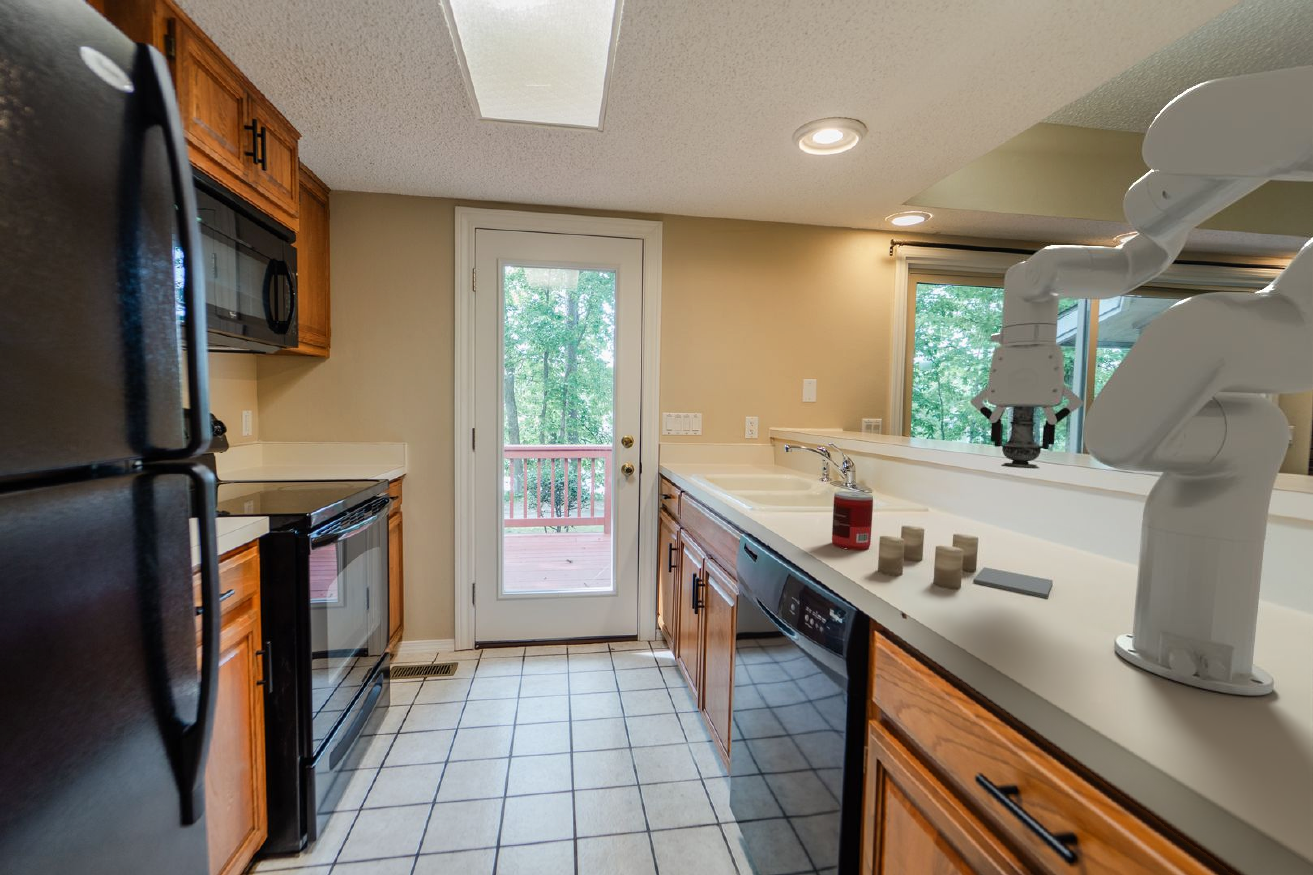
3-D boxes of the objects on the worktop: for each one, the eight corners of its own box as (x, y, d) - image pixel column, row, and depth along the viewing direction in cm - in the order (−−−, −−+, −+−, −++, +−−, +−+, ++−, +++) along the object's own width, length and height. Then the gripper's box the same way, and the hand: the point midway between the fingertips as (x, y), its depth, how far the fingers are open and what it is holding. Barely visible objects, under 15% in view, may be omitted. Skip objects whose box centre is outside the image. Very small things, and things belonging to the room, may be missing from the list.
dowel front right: (957, 590, 84) (960, 553, 83) (930, 584, 86) (932, 548, 86) (963, 584, 86) (965, 549, 86) (936, 579, 89) (939, 544, 89)
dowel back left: (919, 562, 99) (921, 531, 99) (897, 557, 102) (898, 527, 102) (924, 558, 102) (926, 528, 102) (903, 554, 105) (905, 524, 105)
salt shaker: (1050, 468, 86) (1054, 395, 85) (1026, 468, 83) (1031, 393, 83) (1013, 465, 91) (1018, 396, 91) (990, 465, 89) (995, 394, 88)
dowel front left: (898, 577, 89) (900, 542, 89) (874, 571, 92) (876, 538, 92) (905, 572, 92) (907, 538, 92) (881, 567, 95) (883, 534, 95)
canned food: (873, 545, 112) (876, 493, 111) (866, 552, 105) (869, 498, 104) (836, 539, 116) (839, 490, 115) (827, 546, 109) (830, 494, 108)
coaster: (1047, 598, 81) (1047, 594, 81) (973, 582, 88) (973, 579, 88) (1052, 583, 89) (1052, 580, 89) (983, 570, 95) (984, 567, 95)
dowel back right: (973, 573, 93) (976, 540, 93) (948, 568, 96) (950, 536, 96) (978, 568, 96) (980, 536, 96) (953, 563, 99) (955, 532, 99)
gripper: (964, 339, 89) (957, 445, 90) (1095, 331, 78) (1087, 452, 79) (972, 345, 95) (966, 444, 95) (1096, 338, 84) (1088, 450, 84)
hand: (1021, 446), depth 87 cm, fingers closed on salt shaker, 5 cm apart
